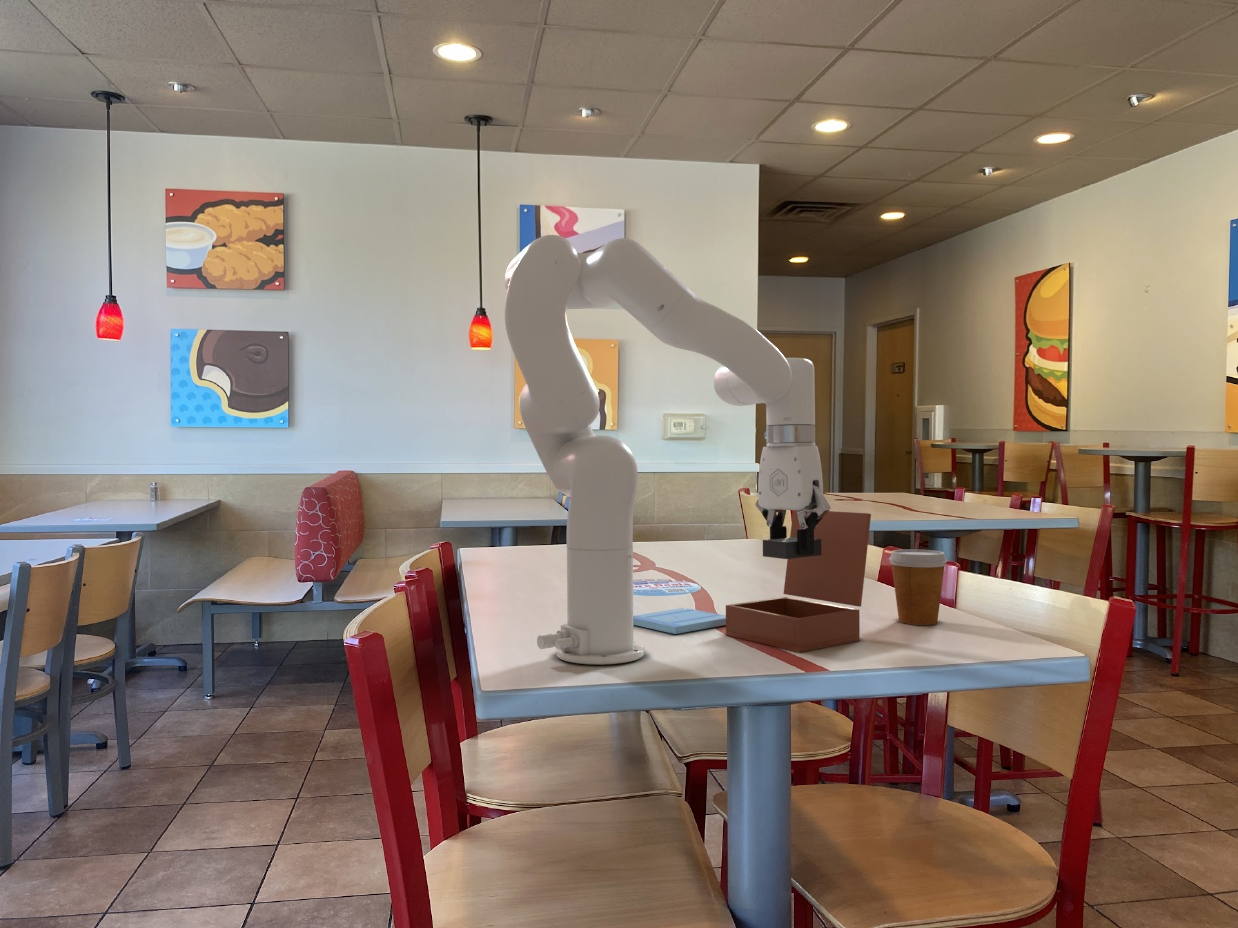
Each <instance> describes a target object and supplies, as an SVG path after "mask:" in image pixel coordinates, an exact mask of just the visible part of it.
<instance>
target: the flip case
mask: <svg viewBox="0 0 1238 928" xmlns="http://www.w3.org/2000/svg"><path fill="white" fill-rule="evenodd" d="M725 616H726V625H725V636H729V637H732V638H736V639H741V640H744V641H745V640H746V641H748V642H749V641H750V642H753V643H758V644H763V645H767V646H769V647H770V646H771V647H775V648H779V649H782V650H788V651H792V652H796V653H803V652H809V651H815V650H819V649H823V648H828V647H833V646H838V645H843V644H849V643H854V642H857V641H858V642H860V640H861V639H860V638H861V636H860V635H861V634H860V628H861V627H860V621H861V619H860V618H861V617H860V609H859V608H852V607H847V606H840V605H835V604H829V603H823V602H817V601H811V600H805V599H799V598H794V597H788V596H781V597H775V598H774V597H773V598H767V599H759V600H752V601H746V602H739V603H732V604H725Z"/></svg>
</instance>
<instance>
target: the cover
mask: <svg viewBox="0 0 1238 928" xmlns="http://www.w3.org/2000/svg"><path fill="white" fill-rule="evenodd" d="M805 514H806V518H807V517H808V516H807V513H805ZM871 519H872V513H867V512H853V511H850V512H849V511H835V510H834V511H832V510H829V511H828V512H827V513H826V514H825V515H824V516H823V518H822V519H821V521H820V522H819V523H818V527H817V528H816V529H814V538H817V539H821V555H819V556H810V557H801V558H792V559H786V568H785V577H784V585H783V595H787V596H793V597H798V598H805V599H810V600H817V601H823V602H829V603H835V604H841V605H846V606H853V607H859V608H861V607H862V602H863V595H864V594H863V592H864V583H865V574H866V564H867V558H868V557H867V555H868V546H869V539H870V527H871ZM797 529H801V528H800V524H799V520H798V515H797V511H796V510H792V518H791V526H790V534H789V537H797Z"/></svg>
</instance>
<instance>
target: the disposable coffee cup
mask: <svg viewBox="0 0 1238 928" xmlns="http://www.w3.org/2000/svg"><path fill="white" fill-rule="evenodd" d="M888 561H889V563H890V565H891V570H892V576H893V578H892V579H893V586H894V591H895V592H894V593H895V594H894V595H895V601H896V609H897V616H898V617H897V618H898V621H899V622H900V623H903V624H907V625H913V626H914V625H915V626H932V625H937V624H938V621H939V613H940V605H941V597H942V591H943V590H942V589H943V581H944V574H945V566H947V563H948V559H947V558H946V554H945V552H943V551H939V550H933V549H931V550H930V549H895V550H892V551H891V552H890V557H889V558H888Z"/></svg>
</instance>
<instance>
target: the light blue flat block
mask: <svg viewBox="0 0 1238 928" xmlns="http://www.w3.org/2000/svg"><path fill="white" fill-rule="evenodd" d="M633 626H637V627H642V628H647V629H651V630H656V631H660V632H664V633H669V634H674V635H677V634H683V633H688V632H695V631H699V630H700V631H701V630H706V629H710V628H716V627H721V626H726V614H725V615H724V614H720V613H718V614H717V613H715V612H708V611H705V610H704V611H703V610H698V609H693V608H683V607H680V608H674V609H667V610H661V611H660V610H659V611H655V612H648V613H641V614H636V615H635V614H634V615H633Z"/></svg>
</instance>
